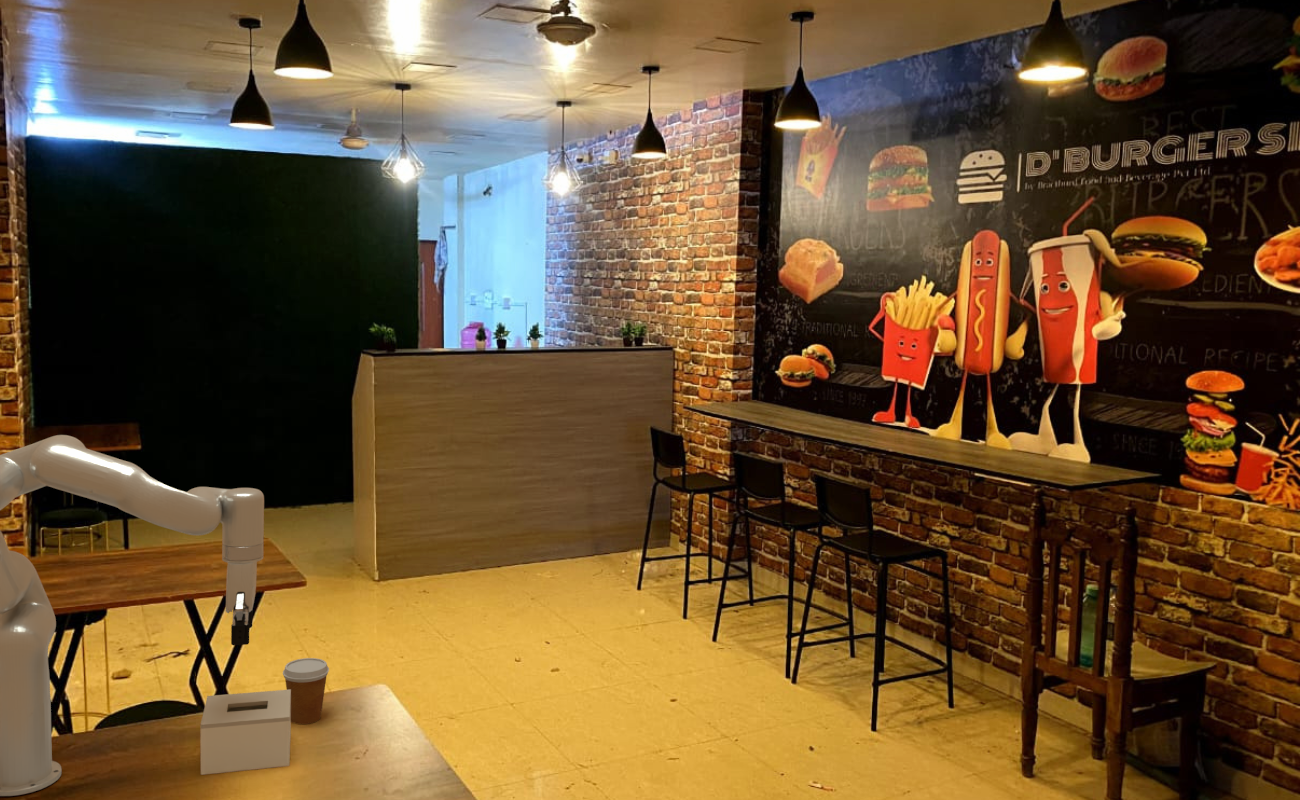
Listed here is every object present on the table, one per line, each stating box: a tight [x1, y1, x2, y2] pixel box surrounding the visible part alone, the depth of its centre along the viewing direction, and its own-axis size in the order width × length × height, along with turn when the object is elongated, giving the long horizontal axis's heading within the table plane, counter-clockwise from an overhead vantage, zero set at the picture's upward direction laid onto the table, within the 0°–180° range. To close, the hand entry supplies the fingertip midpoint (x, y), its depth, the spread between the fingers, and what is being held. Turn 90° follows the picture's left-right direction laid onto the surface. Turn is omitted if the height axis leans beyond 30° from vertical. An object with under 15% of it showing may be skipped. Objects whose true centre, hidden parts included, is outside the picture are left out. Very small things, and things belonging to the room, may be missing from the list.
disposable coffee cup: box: [282, 657, 330, 725], centre depth 222 cm, size 10×10×12 cm
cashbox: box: [200, 689, 292, 775], centre depth 204 cm, size 16×14×10 cm
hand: (242, 635), depth 202 cm, fingers open, 9 cm apart
